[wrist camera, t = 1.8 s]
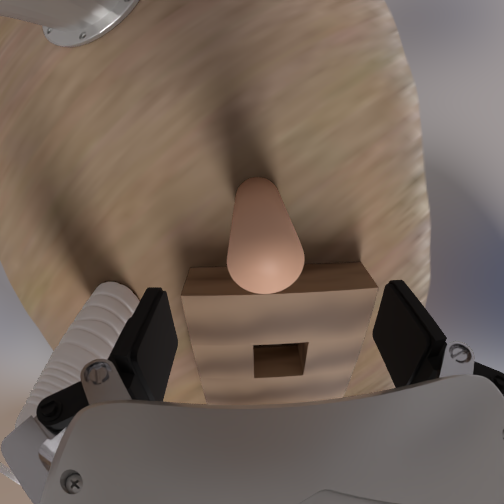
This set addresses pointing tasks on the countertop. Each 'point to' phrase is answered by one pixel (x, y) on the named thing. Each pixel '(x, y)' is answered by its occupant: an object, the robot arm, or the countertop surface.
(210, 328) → the socket block
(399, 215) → the countertop surface
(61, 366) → the water bottle
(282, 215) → the peg
